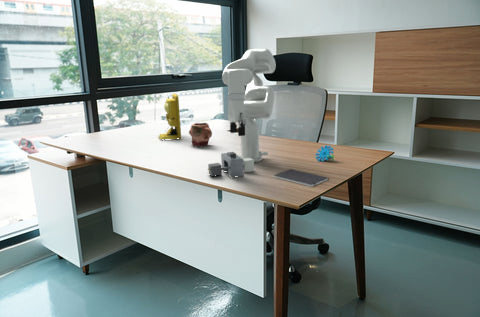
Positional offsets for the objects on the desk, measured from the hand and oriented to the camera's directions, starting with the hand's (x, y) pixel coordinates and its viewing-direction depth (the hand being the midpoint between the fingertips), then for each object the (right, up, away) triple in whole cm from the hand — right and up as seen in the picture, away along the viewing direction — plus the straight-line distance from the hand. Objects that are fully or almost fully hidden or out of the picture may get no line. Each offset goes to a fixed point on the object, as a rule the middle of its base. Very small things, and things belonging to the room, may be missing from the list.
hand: (237, 134), depth 182 cm
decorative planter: (-23, -3, +65) cm, 69 cm away
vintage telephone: (-49, +3, +94) cm, 106 cm away
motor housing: (-3, -18, +4) cm, 19 cm away
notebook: (+28, -21, -7) cm, 36 cm away
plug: (-3, -18, +4) cm, 19 cm away
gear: (+45, -13, +22) cm, 52 cm away
